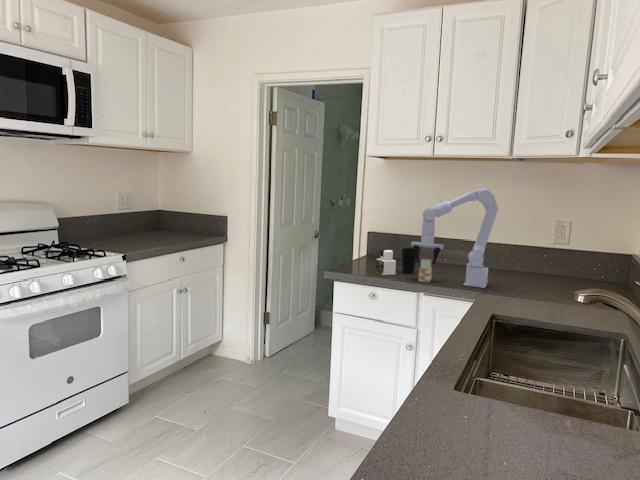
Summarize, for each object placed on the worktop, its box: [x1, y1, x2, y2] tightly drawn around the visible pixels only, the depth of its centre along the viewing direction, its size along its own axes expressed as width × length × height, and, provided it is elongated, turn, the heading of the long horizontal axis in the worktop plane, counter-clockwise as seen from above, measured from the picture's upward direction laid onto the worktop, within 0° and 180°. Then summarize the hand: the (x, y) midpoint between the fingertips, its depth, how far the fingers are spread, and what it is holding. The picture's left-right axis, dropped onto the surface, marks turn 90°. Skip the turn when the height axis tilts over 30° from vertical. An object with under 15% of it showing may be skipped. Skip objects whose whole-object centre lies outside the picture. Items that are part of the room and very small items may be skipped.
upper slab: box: [418, 267, 433, 276], centre depth 223 cm, size 5×5×3 cm
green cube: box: [420, 258, 433, 269], centre depth 223 cm, size 4×4×4 cm
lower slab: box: [417, 274, 433, 283], centre depth 223 cm, size 5×5×3 cm
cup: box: [401, 247, 417, 275], centre depth 239 cm, size 8×8×12 cm
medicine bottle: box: [375, 248, 397, 276], centre depth 235 cm, size 7×7×12 cm
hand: (425, 262), depth 222 cm, fingers open, 7 cm apart
